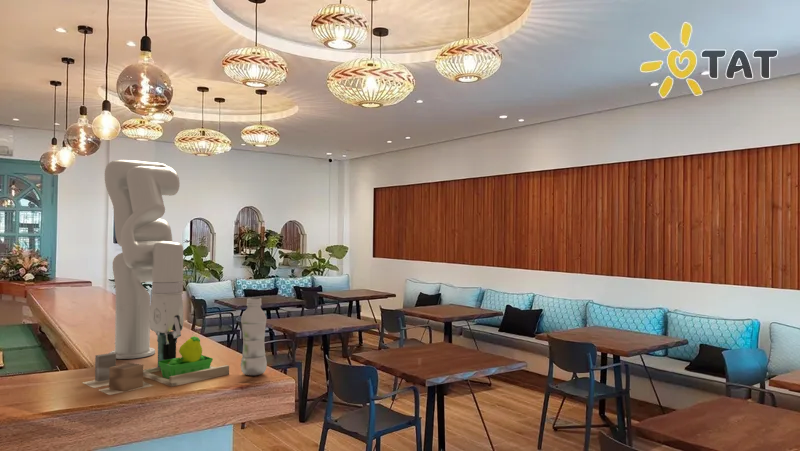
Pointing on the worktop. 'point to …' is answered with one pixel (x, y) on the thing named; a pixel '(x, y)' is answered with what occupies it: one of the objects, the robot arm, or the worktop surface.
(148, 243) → the robot arm
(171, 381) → the wooden serving tray
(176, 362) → the fruit basket
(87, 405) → the worktop surface
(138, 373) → the walnut cube
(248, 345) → the plastic bottle
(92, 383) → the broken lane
